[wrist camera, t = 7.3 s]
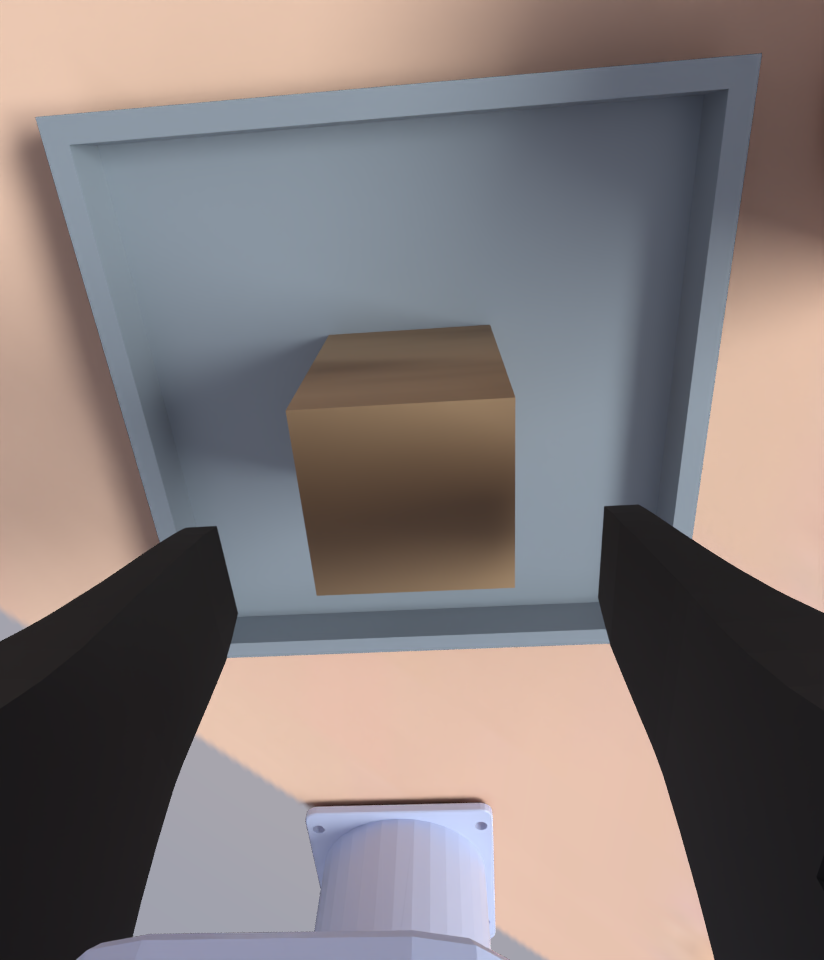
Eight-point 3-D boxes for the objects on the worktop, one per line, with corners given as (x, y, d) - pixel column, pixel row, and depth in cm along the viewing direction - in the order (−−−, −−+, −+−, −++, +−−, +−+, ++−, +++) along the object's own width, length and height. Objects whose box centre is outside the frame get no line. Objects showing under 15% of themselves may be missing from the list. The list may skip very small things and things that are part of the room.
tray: (657, 602, 23) (677, 640, 21) (211, 620, 23) (193, 659, 22) (723, 64, 15) (761, 52, 14) (78, 121, 16) (34, 117, 15)
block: (492, 470, 20) (514, 587, 14) (347, 478, 20) (316, 595, 15) (490, 324, 18) (515, 397, 12) (328, 334, 18) (285, 410, 13)
